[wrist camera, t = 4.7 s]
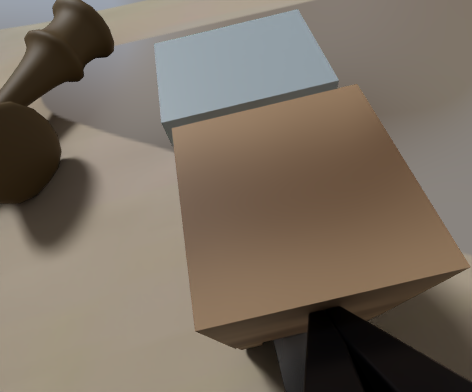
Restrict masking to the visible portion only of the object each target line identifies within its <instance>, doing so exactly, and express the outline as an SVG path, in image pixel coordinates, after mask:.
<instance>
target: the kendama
mask: <svg viewBox="0 0 472 392" xmlns="http://www.w3.org/2000/svg"><path fill="white" fill-rule="evenodd" d="M52 9H53V14H54V19H53V20H52V22H51V23H50V24H49V25H48V26H47V27H45V28H44V29H42V30H32V31H29V32H28V33H27V34H26V36H25V38H24V40H25V43H26V47H27V48H26V52H25V55H24V57H23V59H22V60H21V62H20V64H19V65H18V67H17V68H16V69H15V71H14V72H13V74H12V75H11V76H10V78H9V79H8V81H7V82H6V83H5V85H4V86H3V87H2V88H1V90H0V204H19V203H21V202H24V201H26V200H28V199H30V198H32V197H34V196H36V195H37V194H38V193H39V192H40V191H41V190H42V189H43V188H44V187H45V186H46V185H47V183H48V182H49V181H50V179H51V178H52V176H53V175H54V173H55V172H56V170H57V169H58V167H59V162H60V157H61V147H60V143H59V139H58V135H57V134H56V132H55V131H54V129H53V128H52V126H51V125H50V123H49V122H48V120H46V119H45V118H44V117H43V116H41V115H40V114H39V113H38V112H36V111H35V110H34V109H32V108H29V107H27V106H28V105H30V104H31V103H33V102H34V101H35V100H37V99H38V98H40V97H41V96H42V95H44V94H45V93H47V92H48V91H50V90H51V89H53V88H55V87H56V86H58V85H60V84H62V83H64V82H78V81H80V80H81V79H82V78H83V77H84V72H83V69H84V67H85V65H86V64H87V63H89V62H90V61H91V60H93V59H95V58H103V57H108V56H109V55H110V54H111V53H112V52H113V51H114V40H113V38H112V35H111V32H110V29H109V27H108V26H107V24H106V23H105V21H104V20H103V18H102V17H101V16H100V15H99V14H98V13H97V12H96V11H95V10H94V9H93V7H91V6H90V5H88V4H86V3H85V2H83V1H82V0H56V2H55V3H54V5H53V8H52Z"/></svg>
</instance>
